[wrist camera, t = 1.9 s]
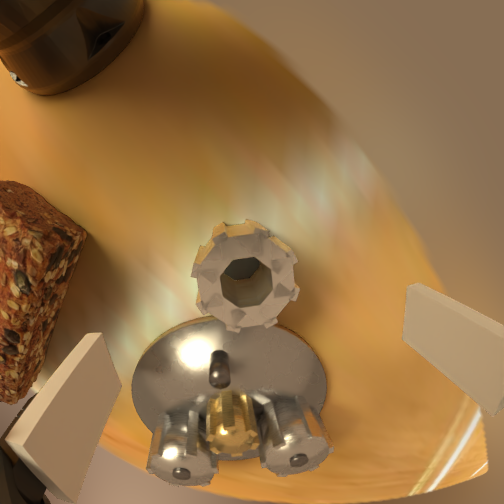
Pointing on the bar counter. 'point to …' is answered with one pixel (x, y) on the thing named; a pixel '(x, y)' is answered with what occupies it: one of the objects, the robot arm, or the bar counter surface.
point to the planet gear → (245, 290)
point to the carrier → (230, 400)
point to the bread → (31, 282)
